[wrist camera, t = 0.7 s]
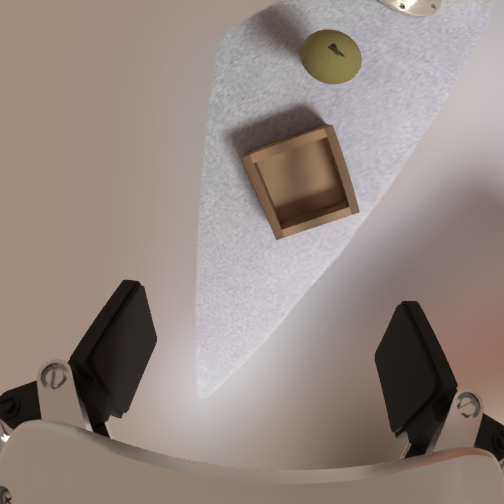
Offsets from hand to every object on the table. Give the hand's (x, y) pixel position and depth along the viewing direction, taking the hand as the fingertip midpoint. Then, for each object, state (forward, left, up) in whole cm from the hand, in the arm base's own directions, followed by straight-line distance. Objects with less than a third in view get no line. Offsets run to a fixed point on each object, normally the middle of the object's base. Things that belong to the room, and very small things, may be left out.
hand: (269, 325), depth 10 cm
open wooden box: (-3, +2, -26) cm, 26 cm away
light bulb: (-10, -10, -26) cm, 30 cm away
